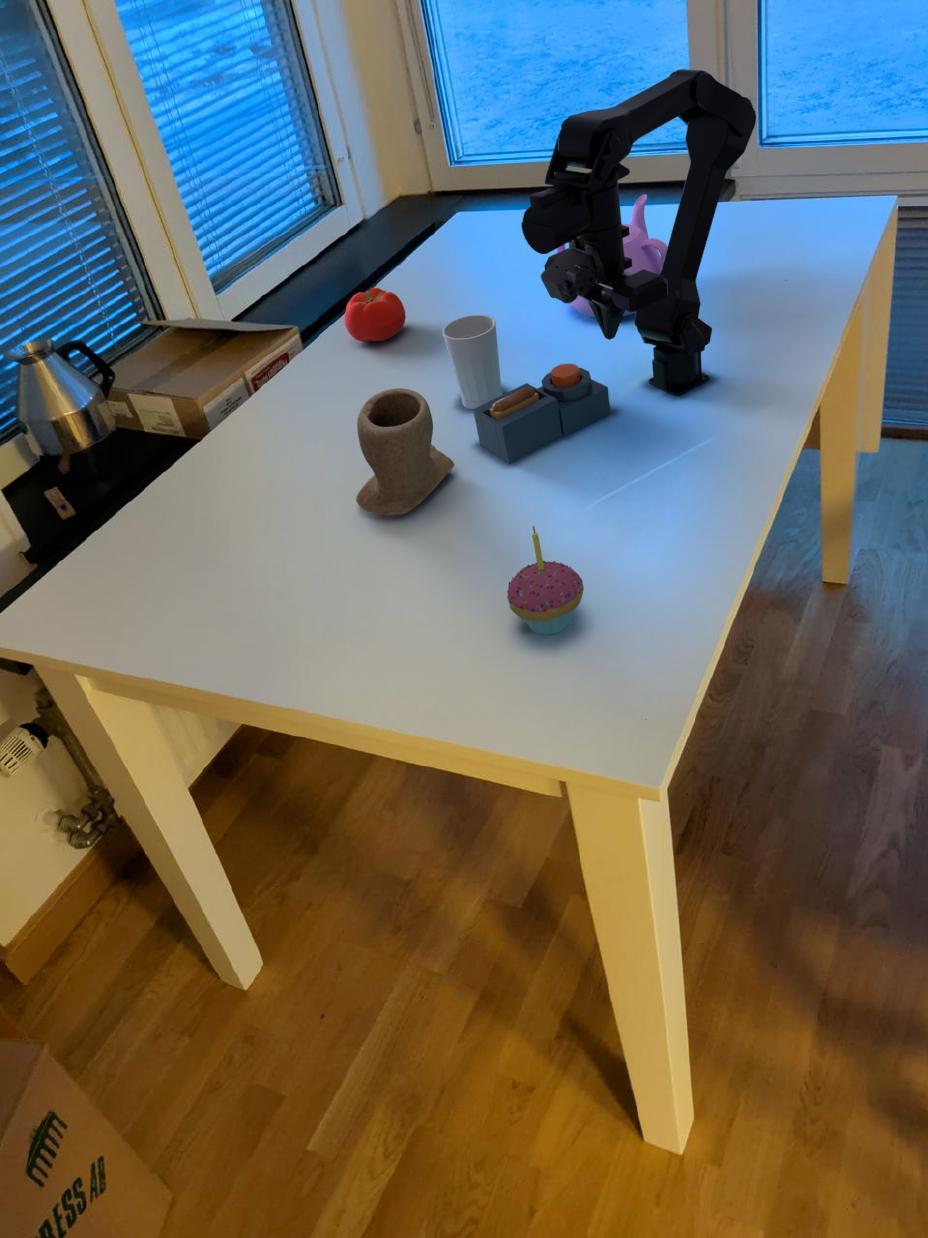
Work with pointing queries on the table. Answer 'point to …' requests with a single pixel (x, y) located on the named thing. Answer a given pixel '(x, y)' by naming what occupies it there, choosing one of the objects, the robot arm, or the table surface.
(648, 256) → the teapot
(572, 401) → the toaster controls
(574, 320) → the table surface
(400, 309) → the tomato
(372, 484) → the stone cup
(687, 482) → the table surface
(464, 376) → the cup
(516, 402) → the tan slab
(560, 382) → the button
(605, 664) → the table surface
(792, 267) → the table surface
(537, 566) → the cupcake
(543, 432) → the toaster
